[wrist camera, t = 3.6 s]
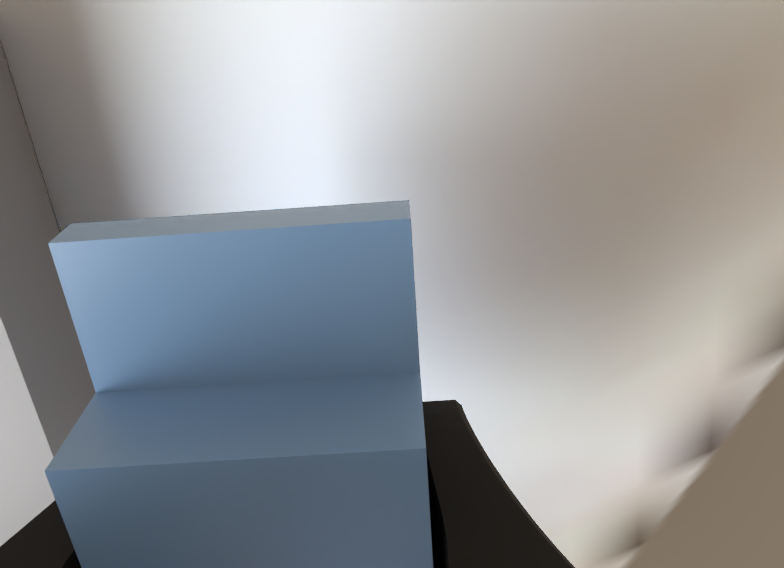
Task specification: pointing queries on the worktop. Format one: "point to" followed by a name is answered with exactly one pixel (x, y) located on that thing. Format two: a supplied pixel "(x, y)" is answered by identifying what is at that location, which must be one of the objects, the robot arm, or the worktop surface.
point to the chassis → (31, 329)
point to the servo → (246, 391)
